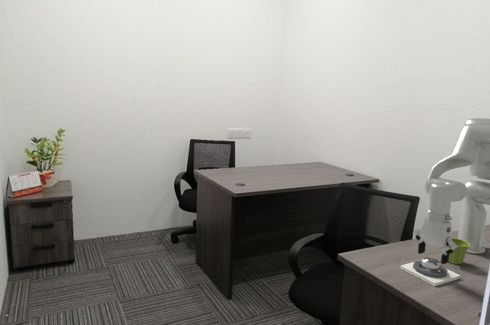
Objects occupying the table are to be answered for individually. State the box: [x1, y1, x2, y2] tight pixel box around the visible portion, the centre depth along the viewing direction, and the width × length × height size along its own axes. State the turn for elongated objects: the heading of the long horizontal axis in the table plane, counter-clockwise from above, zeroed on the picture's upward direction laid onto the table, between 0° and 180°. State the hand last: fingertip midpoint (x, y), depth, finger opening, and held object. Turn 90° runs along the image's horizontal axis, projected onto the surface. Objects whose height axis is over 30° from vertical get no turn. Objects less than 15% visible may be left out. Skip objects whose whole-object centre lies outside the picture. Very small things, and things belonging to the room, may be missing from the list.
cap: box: [421, 256, 441, 272], centre depth 141 cm, size 6×6×4 cm
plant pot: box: [448, 237, 470, 265], centre depth 152 cm, size 9×9×9 cm
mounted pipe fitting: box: [399, 259, 462, 287], centre depth 141 cm, size 15×15×2 cm
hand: (432, 258), depth 141 cm, fingers open, 9 cm apart
